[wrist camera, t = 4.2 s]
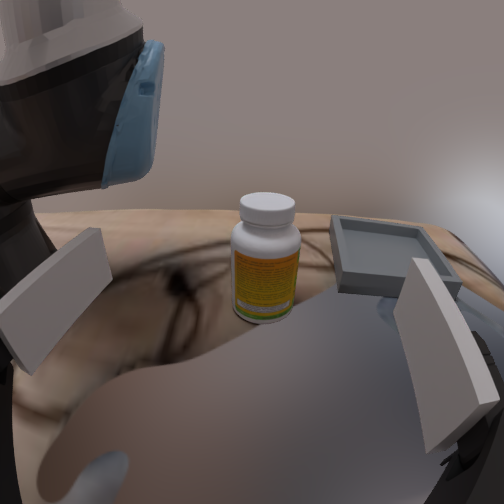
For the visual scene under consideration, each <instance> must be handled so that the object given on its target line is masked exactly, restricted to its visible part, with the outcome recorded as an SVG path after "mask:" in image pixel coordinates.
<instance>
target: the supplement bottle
mask: <svg viewBox="0 0 504 504" xmlns="http://www.w3.org/2000/svg"><path fill="white" fill-rule="evenodd" d="M294 216H295V202H294V200H293V199H292V198H290V197H288V196H285V195H282V194H277V193H268V192H259V193H252V194H248V195H245V196H243V197H242V198H241V200H240V218H241V220H242V221H241V222H239V223H238V224H237V225H236V226H235V227H234V229H233V231H232V234H231V282H232V304H233V308H234V310H235V312H236V313H237V314H238V315H239V316H240V317H242V318H243V319H245V320H247V321H249V322H252V323H257V324H270V323H274V322H278V321H280V320H282V319H284V318H285V317H286V316H288V315H289V313H290V312H291V310H292V308H293V303H294V295H295V287H296V279H297V271H298V263H299V255H300V247H301V235H300V232H299V230H298V229H297V227H296V226H294V225H293V224H292V223H293V221H294Z"/></svg>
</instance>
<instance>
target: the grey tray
mask: <svg viewBox="0 0 504 504" xmlns="http://www.w3.org/2000/svg"><path fill="white" fill-rule="evenodd" d="M329 234H330V240H331V247H332V253H333V260H334V267H335V274H336V281H337V289H338V293H348V294H361V295H373V296H384V297H397V298H399V295H400V293H401V290H402V287H403V284H404V281H405V278H406V275H407V272H408V269H409V266H410V262H411V259H412V257H413V258H422V259H428V260H429V261H430V263H431V264H432V266H433V267H434V269H435V270H436V272H437V273H438V275H439V277H440V278H441V280H442V281H443V283H444V285H445V286H446V288H447V290H448V291H449V293H450V295H451V296H452V298H453V300H454V301H455V298H456V296H457V294H458V292H459V290H460V287H461V285H462V283H463V282H462V281H461V279H460V278H459V276H458V275H457V273H456V272H455V270H454V269H453V267H452V266H451V265H450V263H449V262H448V260H447V259H446V258H445V256H444V255H443V253H442V252H441V251H440V249H439V248H438V247H437V245H436V244H435V243H434V241H433V240H432V239H431V238H430V236H429V235H428V234H427V232H426V231H425V230H424V229H423V227H419V226H412V225H406V224H399V223H392V222H385V221H378V220H370V219H362V218H354V217H346V216H338V215H331V221H330V228H329Z"/></svg>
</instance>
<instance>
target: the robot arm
mask: <svg viewBox="0 0 504 504" xmlns="http://www.w3.org/2000/svg"><path fill="white" fill-rule="evenodd" d="M0 18H1V24H2V30H3V36H4V41H5V46H6V49H5V53H4V56H3V57H2V60H1V62H0V504H22V500H21V495H20V490H19V485H18V479H17V472H16V465H15V456H14V446H13V430H12V389H13V372H14V369H13V365H12V364H11V360H12V359H14V360H15V362H16V363H17V364H18V366H19V367H20V369H22V370H23V371H25V372H26V373H28V374H29V375H31V376H32V375H33V373H34V372H35V371H36V369H37V368H38V367H39V365H40V364H41V363H42V361H43V360H44V359H45V358H46V356H47V355H48V354H49V353H50V351H51V350H52V349H53V347H54V346H55V345H56V344H57V343H58V341H59V340H60V339H61V338H62V336H63V335H64V334H65V333H66V332H67V330H68V329H69V328H70V327H71V326H72V324H73V323H74V322H75V321H76V320H77V319H78V317H79V316H80V315H81V314H82V313H83V312H84V311H85V309H86V308H87V307H88V306H89V305H90V304H91V303H92V302H93V300H94V299H95V298H96V297H97V296H98V295H99V294H100V293H101V292H102V290H103V289H104V288H105V287H106V286H107V285H108V284H109V283H110V282H111V281H112V280H113V278H112V274H111V271H110V267H109V263H108V259H107V255H106V251H105V246H104V242H103V237H102V233H101V228H90V227H89V228H87V229H86V230H84V231H83V232H82V233H80V234H79V235H78V236H76V237H75V238H73V239H72V240H71V241H69V242H68V243H67V244H65V245H64V246H63V247H62V248H60V249H59V250H58V251H57V249H56V248H55V246H54V245H53V243H52V242H51V240H50V239H49V237H48V236H47V234H46V233H45V231H44V229H43V228H42V226H41V225H40V223H39V222H38V220H37V218H36V217H35V214H34V211H33V207H32V203H31V199H35V198H41V197H46V196H52V195H58V194H64V193H71V192H78V191H85V190H92V189H100V188H101V189H106V188H108V186H111V185H116V184H122V183H128V182H133V181H137V180H139V179H141V178H143V177H144V176H145V175H146V174H147V173H148V172H149V171H150V169H151V167H152V164H153V160H154V154H155V147H156V138H157V128H158V118H159V108H160V97H161V88H162V78H163V67H164V51H165V47H164V44H163V43H161V42H157V41H154V40H148V41H147V42H144V40H143V23H142V19H141V18H139V17H138V16H136V15H135V14H133V13H132V12H130V11H128V10H127V9H125V8H124V7H123V6H122V4H121V2H120V0H0ZM393 314H394V317H395V321H396V324H397V327H398V330H399V334H400V337H401V340H402V344H403V347H404V351H405V355H406V358H407V362H408V366H409V370H410V374H411V378H412V382H413V386H414V391H415V395H416V400H417V405H418V410H419V415H420V420H421V426H422V432H423V438H424V444H425V452H426V454H430V453H436V452H441V451H445V450H447V449H448V448H450V447H451V446H452V445H453V444H454V443H456V442H457V444H458V449H457V450H456V451H455V452H454V453H453V454H451V455H450V456H448V457H447V458H446V459H444V460H443V462H442V463H441V464H440V465H441V466H443V465H444V464H446V463H447V462H449V463H448V465H447V467H446V469H445V471H444V472H443V474H442V476H441V477H440V479H439V481H438V482H437V484H436V486H435V487H434V489H433V490H432V492H431V494H430V495H429V497H428V498H427V500H426V501H425V503H424V504H504V382H503V380H502V378H501V375H500V373H499V371H498V368H497V366H496V365H495V362H494V359H493V357H492V356H490V354H491V353H490V351H489V349H488V347H487V345H486V343H485V341H484V340H483V339H482V338H481V337H480V336H479V335H478V334H477V332H476V331H470V329H469V327H468V325H467V323H466V322H465V320H464V318H463V316H462V314H461V312H460V310H459V309H458V307H457V305H456V303H455V302H454V300H453V298H452V296H451V295H450V293H449V291H448V290H447V288H446V286H445V285H444V283H443V281H442V280H441V278H440V277H439V275H438V273H437V272H436V270H435V269H434V267H433V266H432V264H431V263H430V261H429V260H428V259H422V258H413V257H412V259H411V262H410V266H409V269H408V272H407V275H406V278H405V281H404V284H403V287H402V290H401V293H400V295H399V298H398V301H397V304H396V306H395V309H394V312H393Z"/></svg>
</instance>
